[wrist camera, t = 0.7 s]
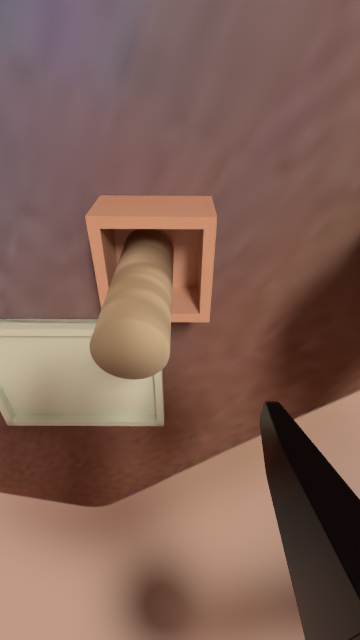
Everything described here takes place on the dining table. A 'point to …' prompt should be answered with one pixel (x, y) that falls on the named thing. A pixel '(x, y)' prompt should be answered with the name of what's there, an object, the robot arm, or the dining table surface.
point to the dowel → (137, 309)
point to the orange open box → (180, 226)
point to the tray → (68, 379)
